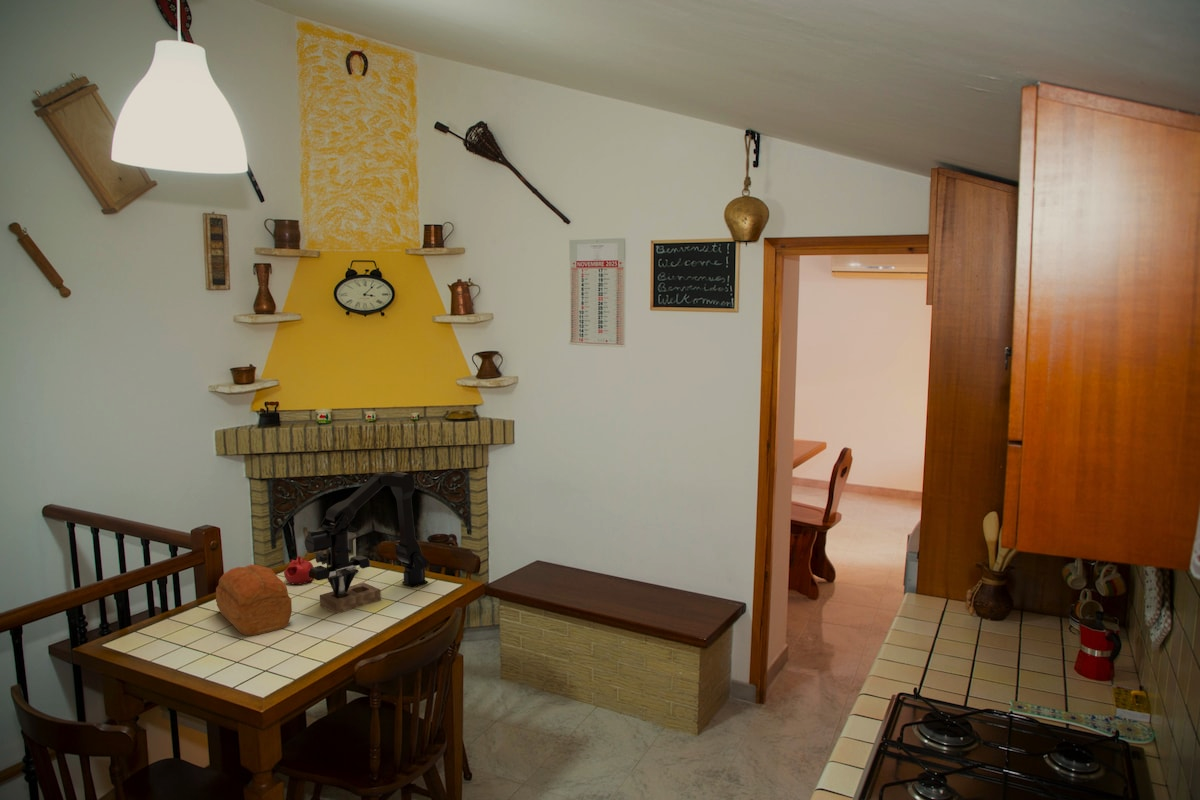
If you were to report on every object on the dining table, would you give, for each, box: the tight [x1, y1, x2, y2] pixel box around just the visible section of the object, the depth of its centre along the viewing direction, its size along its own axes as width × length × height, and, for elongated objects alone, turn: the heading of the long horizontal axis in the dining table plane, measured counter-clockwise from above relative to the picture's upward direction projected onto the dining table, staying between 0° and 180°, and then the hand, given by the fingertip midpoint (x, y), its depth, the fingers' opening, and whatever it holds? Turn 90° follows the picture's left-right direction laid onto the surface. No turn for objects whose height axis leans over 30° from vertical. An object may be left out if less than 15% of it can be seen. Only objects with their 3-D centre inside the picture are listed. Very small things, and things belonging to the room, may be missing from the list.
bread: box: [215, 564, 293, 636], centre depth 250 cm, size 16×27×16 cm, turn 41°
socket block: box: [319, 582, 382, 614], centre depth 265 cm, size 16×10×4 cm, turn 138°
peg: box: [336, 574, 346, 599], centre depth 262 cm, size 3×3×9 cm
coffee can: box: [325, 531, 357, 575], centre depth 291 cm, size 10×10×14 cm
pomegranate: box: [283, 555, 314, 585], centre depth 284 cm, size 10×10×9 cm
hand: (340, 593), depth 262 cm, fingers closed on peg, 3 cm apart
